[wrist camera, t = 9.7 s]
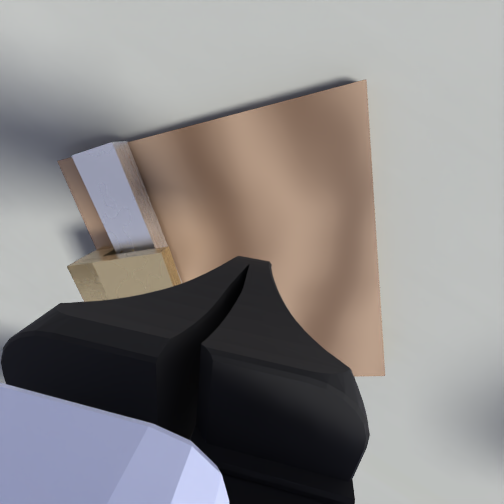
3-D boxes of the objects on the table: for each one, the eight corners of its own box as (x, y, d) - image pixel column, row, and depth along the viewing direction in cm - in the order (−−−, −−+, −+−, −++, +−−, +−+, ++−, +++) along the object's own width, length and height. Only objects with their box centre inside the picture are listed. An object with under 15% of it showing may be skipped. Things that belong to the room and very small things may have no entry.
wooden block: (118, 286, 23) (89, 311, 20) (101, 246, 22) (66, 266, 19) (197, 277, 21) (179, 302, 18) (183, 233, 20) (161, 252, 17)
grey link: (218, 355, 23) (212, 369, 22) (171, 358, 25) (163, 372, 23) (136, 137, 18) (121, 138, 16) (80, 156, 19) (62, 158, 17)
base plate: (160, 370, 28) (135, 412, 24) (70, 159, 21) (11, 166, 16) (381, 364, 23) (397, 415, 19) (362, 82, 16) (381, 66, 12)
